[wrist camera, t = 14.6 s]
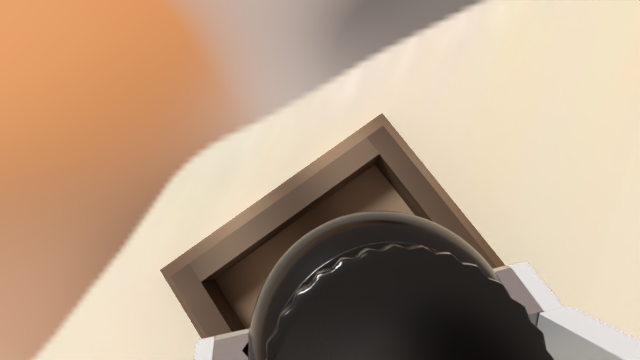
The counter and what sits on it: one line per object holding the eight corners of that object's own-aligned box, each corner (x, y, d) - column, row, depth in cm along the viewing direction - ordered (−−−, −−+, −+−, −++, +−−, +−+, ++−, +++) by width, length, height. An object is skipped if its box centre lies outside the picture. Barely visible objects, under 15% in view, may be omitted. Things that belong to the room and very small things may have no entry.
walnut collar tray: (323, 525, 18) (321, 575, 15) (167, 269, 20) (140, 271, 17) (556, 337, 19) (594, 350, 16) (380, 118, 21) (386, 97, 19)
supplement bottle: (417, 216, 18) (568, 147, 6) (455, 368, 17) (730, 630, 5) (276, 245, 18) (168, 227, 6) (302, 399, 17) (227, 731, 5)
